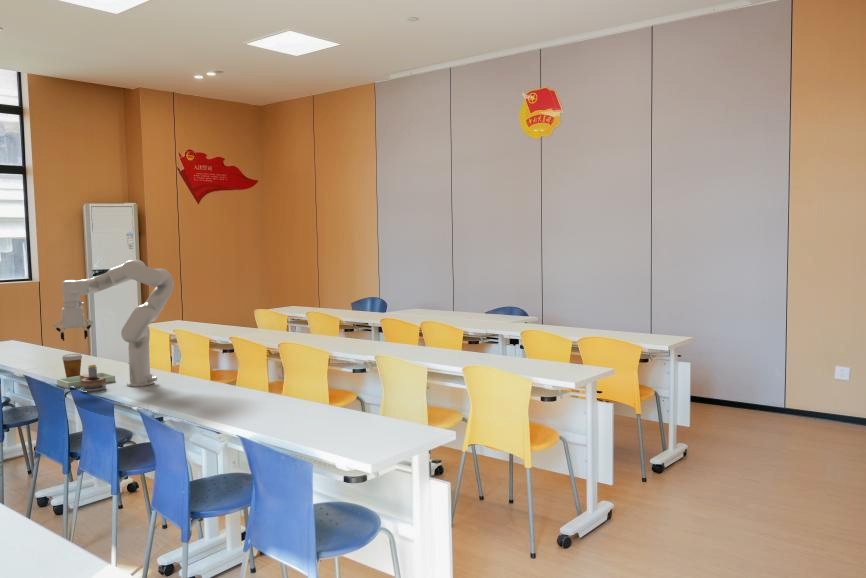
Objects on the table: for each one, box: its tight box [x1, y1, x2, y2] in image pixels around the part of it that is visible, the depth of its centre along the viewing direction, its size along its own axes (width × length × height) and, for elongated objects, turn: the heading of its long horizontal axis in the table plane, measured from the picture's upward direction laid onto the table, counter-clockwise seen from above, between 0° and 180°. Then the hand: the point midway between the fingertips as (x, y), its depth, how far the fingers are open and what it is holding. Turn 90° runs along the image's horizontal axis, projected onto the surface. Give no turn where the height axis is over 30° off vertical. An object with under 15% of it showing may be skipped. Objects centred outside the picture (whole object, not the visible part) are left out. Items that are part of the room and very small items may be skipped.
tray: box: [56, 371, 116, 390], centre depth 349 cm, size 23×15×3 cm, turn 138°
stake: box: [80, 363, 107, 393], centre depth 334 cm, size 11×11×12 cm
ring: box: [80, 373, 107, 386], centre depth 336 cm, size 16×10×3 cm, turn 48°
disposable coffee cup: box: [61, 353, 83, 378], centre depth 365 cm, size 10×10×12 cm
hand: (74, 339), depth 342 cm, fingers open, 9 cm apart
